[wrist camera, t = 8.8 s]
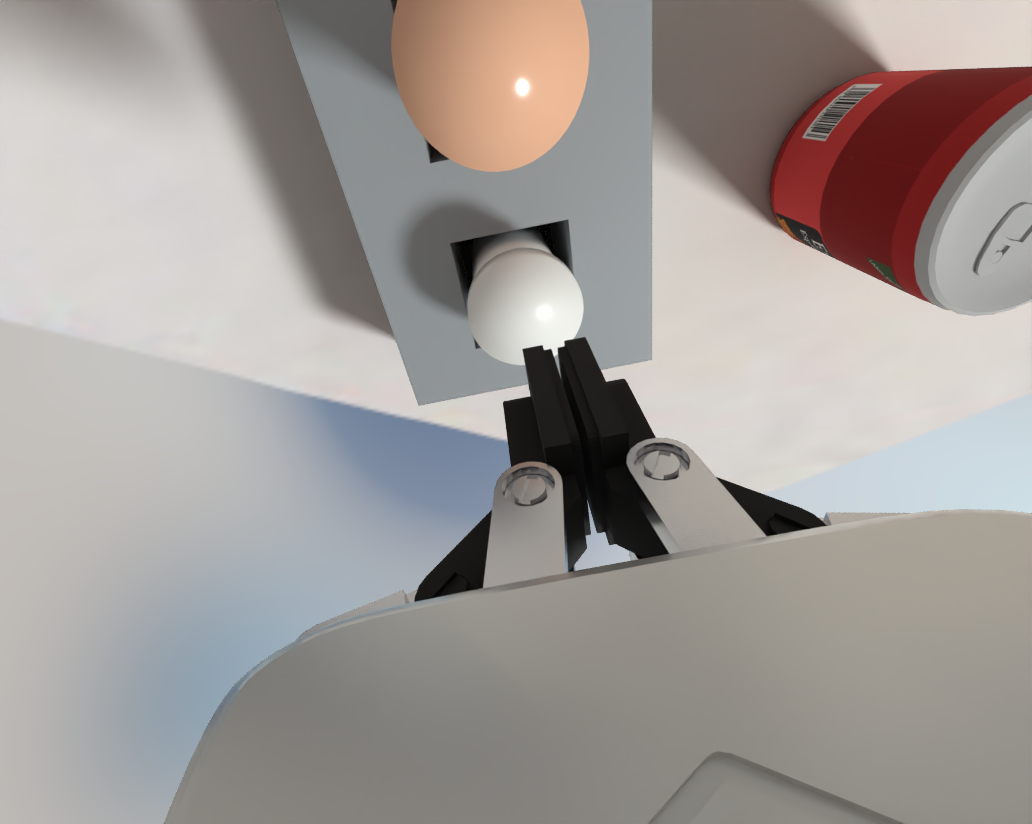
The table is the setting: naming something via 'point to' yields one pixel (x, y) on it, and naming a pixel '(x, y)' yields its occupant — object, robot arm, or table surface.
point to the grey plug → (521, 295)
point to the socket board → (487, 191)
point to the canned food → (919, 183)
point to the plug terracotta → (491, 75)
